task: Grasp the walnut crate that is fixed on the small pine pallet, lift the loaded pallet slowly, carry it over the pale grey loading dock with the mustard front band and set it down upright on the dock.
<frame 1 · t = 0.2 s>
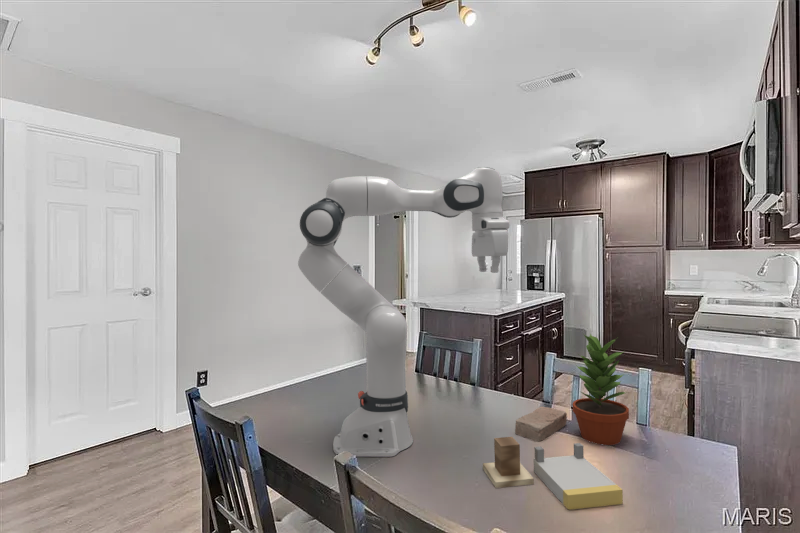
hand: (488, 272, 124), 47 cm above the table, fingers open, 8 cm apart
brick: (541, 431, 127), on the table
dock: (574, 486, 96), on the table
potted plant: (601, 437, 121), on the table
pallet: (507, 476, 101), on the table
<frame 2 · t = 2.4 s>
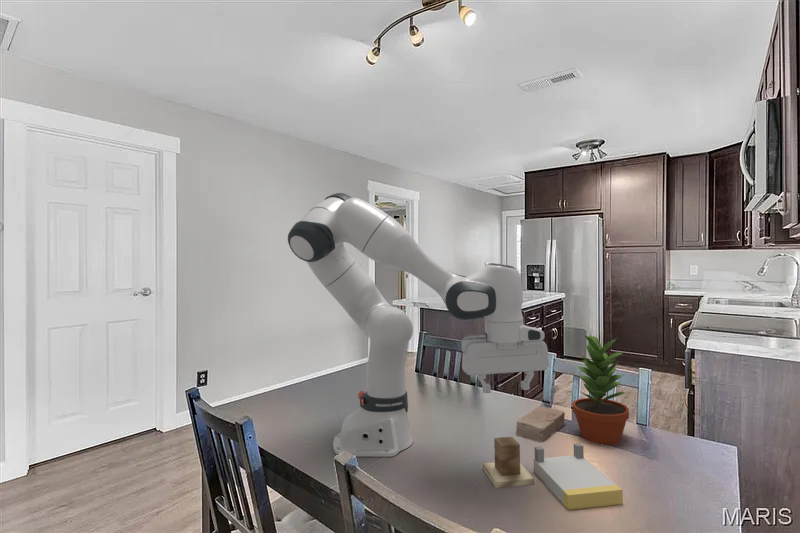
hand: (506, 390, 101), 20 cm above the table, fingers open, 8 cm apart
nothing on the table moved.
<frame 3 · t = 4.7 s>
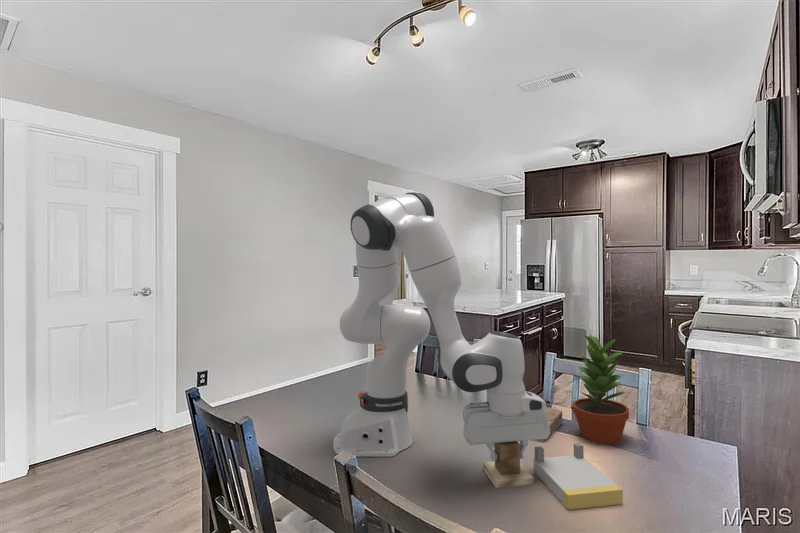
hand: (507, 458, 101), 4 cm above the table, fingers closed on pallet, 4 cm apart
pallet: (507, 476, 101), on the table, touching gripper
everything else where it was.
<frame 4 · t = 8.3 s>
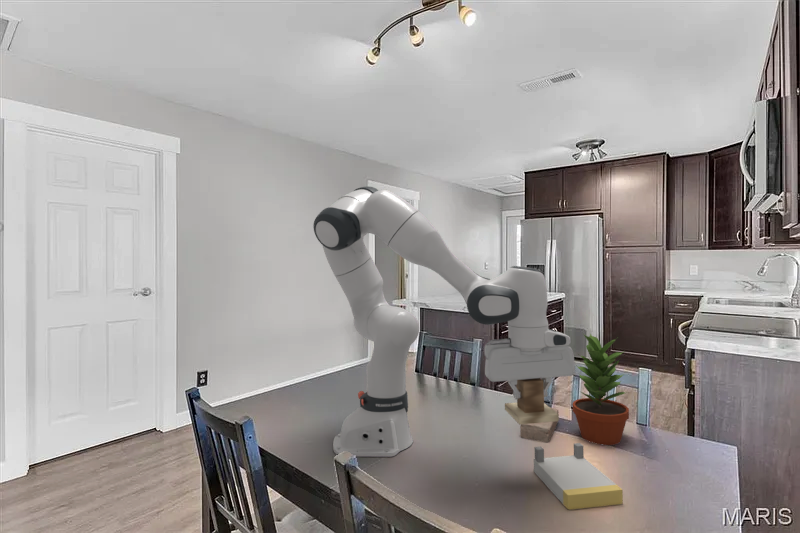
hand: (530, 397, 98), 20 cm above the table, fingers closed on pallet, 4 cm apart
pallet: (530, 415, 98), point 15 cm above the table, touching gripper
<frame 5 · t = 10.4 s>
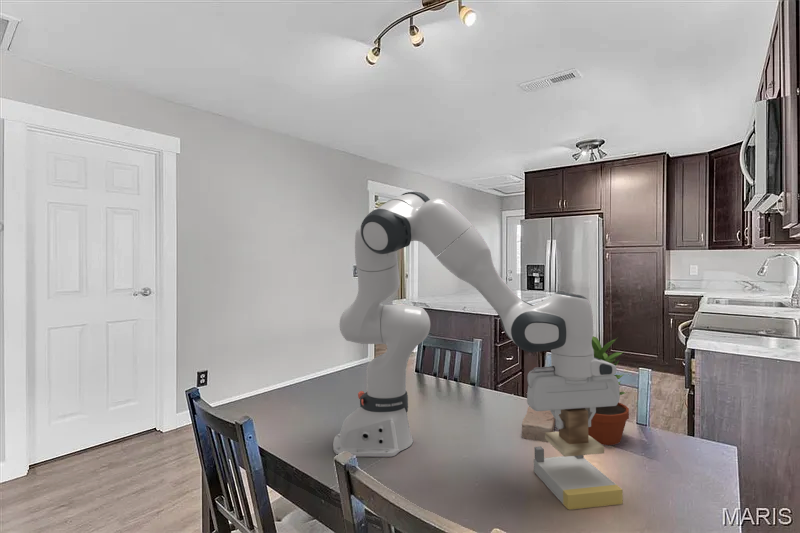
hand: (573, 427, 95), 14 cm above the table, fingers closed on pallet, 4 cm apart
pallet: (573, 445, 95), point 9 cm above the table, touching gripper
when the fingers open (9 cm above the table, at t = 11.9 s): pallet drops 1 cm, resting on dock.
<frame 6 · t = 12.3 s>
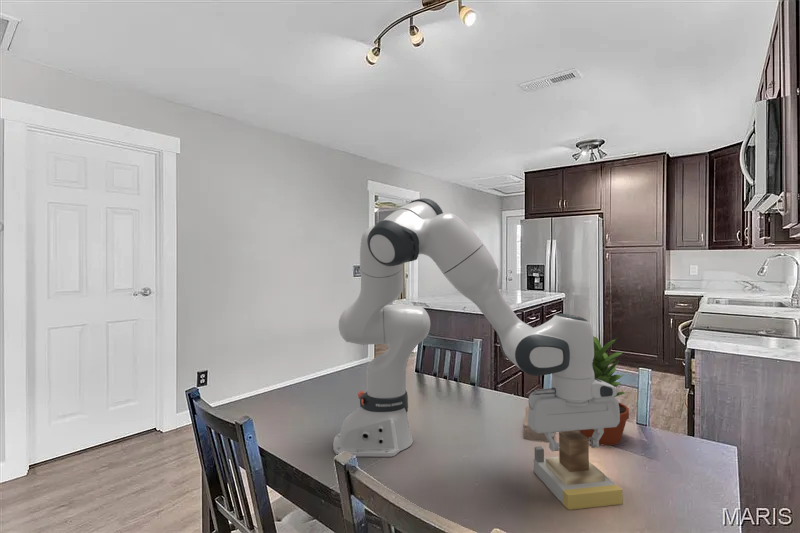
hand: (574, 448, 96), 9 cm above the table, fingers open, 8 cm apart
pallet: (574, 472, 96), point 3 cm above the table, touching dock
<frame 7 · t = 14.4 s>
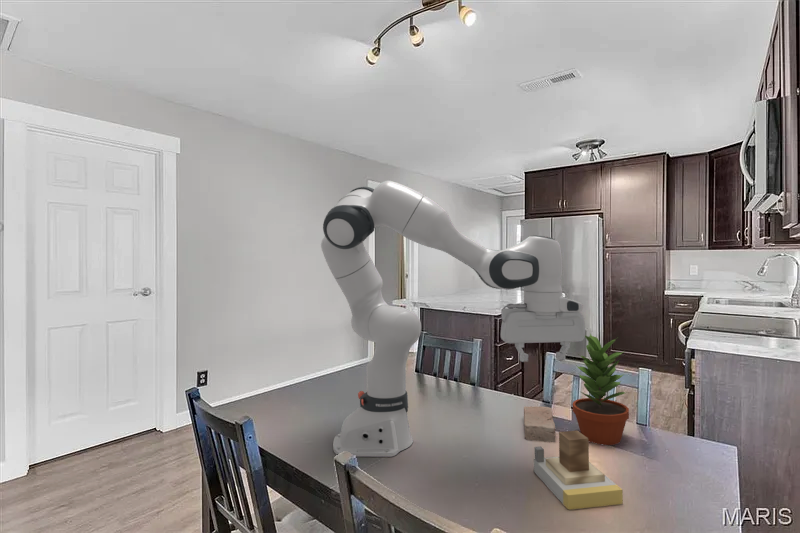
hand: (542, 360, 103), 27 cm above the table, fingers open, 8 cm apart
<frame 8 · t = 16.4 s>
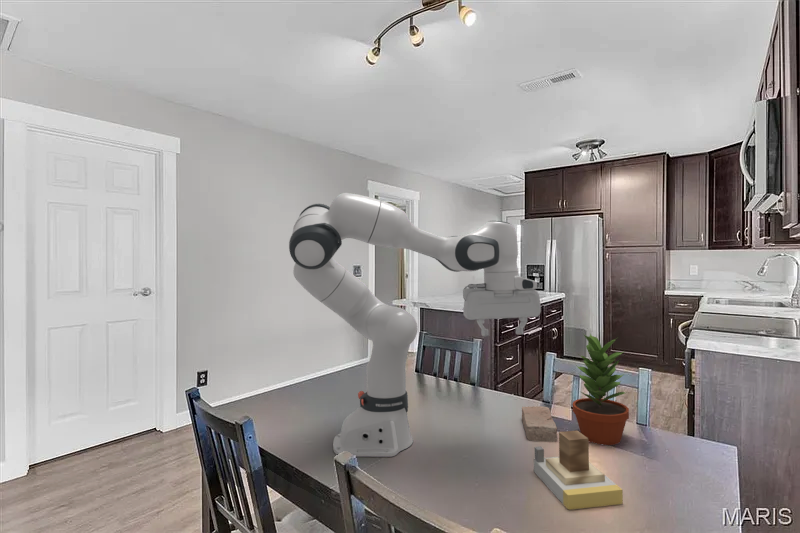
hand: (502, 335, 113), 31 cm above the table, fingers open, 8 cm apart
at the end: pallet inside the target area on the dock (0.2 cm from its centre), point 3.0 cm above the dock's base; pallet tilted 0°; the gripper is holding nothing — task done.
